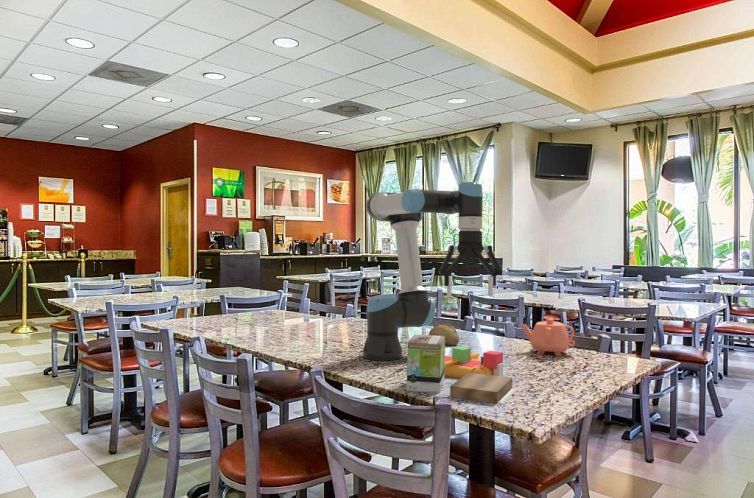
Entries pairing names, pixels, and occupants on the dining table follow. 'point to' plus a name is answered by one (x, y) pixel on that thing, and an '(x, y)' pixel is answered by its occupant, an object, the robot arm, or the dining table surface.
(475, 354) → the raft
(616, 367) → the dining table surface
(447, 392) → the blueprint board
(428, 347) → the tea box
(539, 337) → the teapot
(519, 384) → the dining table surface
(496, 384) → the pedestal
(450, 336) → the bread roll
